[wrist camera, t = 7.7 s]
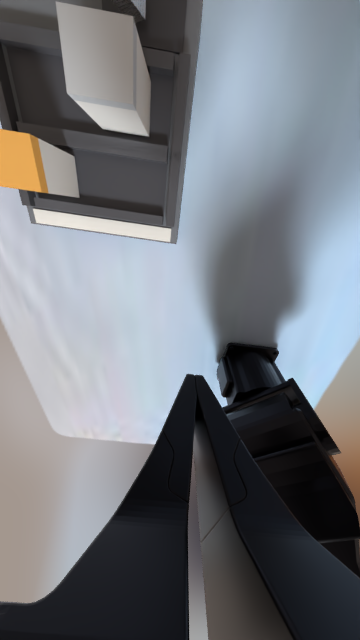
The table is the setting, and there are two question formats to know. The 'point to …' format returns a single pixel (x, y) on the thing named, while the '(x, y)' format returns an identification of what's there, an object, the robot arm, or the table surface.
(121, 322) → the table surface
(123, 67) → the block
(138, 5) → the toggle lever
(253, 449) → the robot arm
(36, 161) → the fader orange
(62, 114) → the panel
